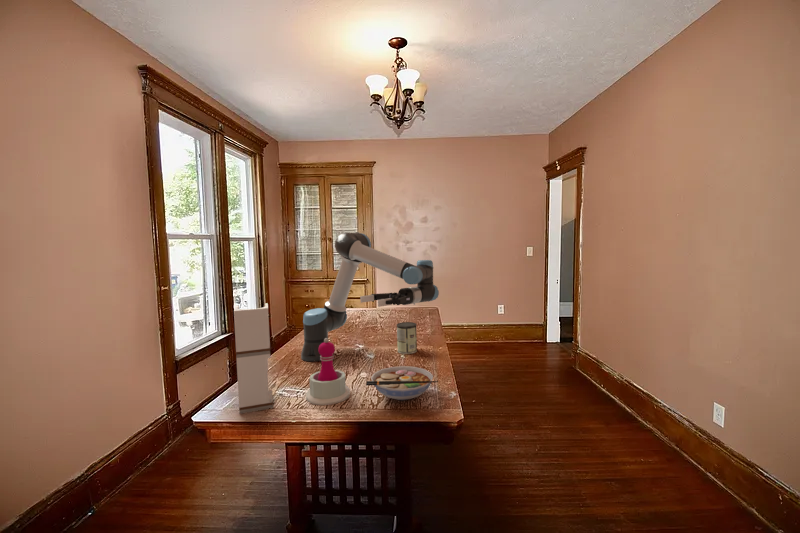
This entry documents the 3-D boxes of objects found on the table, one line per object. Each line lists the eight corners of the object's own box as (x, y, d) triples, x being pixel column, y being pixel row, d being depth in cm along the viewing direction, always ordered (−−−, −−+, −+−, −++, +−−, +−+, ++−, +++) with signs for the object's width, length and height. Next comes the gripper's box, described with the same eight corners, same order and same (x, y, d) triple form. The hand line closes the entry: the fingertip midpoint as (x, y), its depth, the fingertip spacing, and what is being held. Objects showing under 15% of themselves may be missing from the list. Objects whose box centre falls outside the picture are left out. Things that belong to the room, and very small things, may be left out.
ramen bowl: (433, 383, 145) (433, 363, 144) (440, 409, 122) (439, 386, 122) (371, 384, 145) (370, 364, 144) (365, 411, 122) (365, 387, 122)
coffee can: (403, 347, 195) (403, 321, 194) (420, 349, 190) (420, 323, 189) (393, 352, 187) (392, 325, 186) (410, 355, 181) (410, 327, 180)
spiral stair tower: (272, 408, 126) (268, 308, 124) (239, 413, 123) (233, 311, 120) (272, 395, 137) (267, 303, 135) (241, 400, 133) (236, 305, 131)
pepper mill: (333, 395, 131) (331, 341, 130) (315, 394, 133) (312, 340, 131) (340, 387, 138) (339, 335, 137) (323, 386, 140) (321, 335, 138)
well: (299, 394, 137) (298, 374, 137) (337, 383, 147) (337, 365, 146) (317, 409, 124) (316, 388, 124) (357, 396, 134) (357, 376, 133)
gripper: (427, 307, 155) (386, 314, 142) (393, 300, 175) (354, 306, 162) (427, 290, 154) (386, 295, 141) (392, 285, 174) (354, 289, 161)
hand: (369, 301), depth 152 cm, fingers open, 13 cm apart
